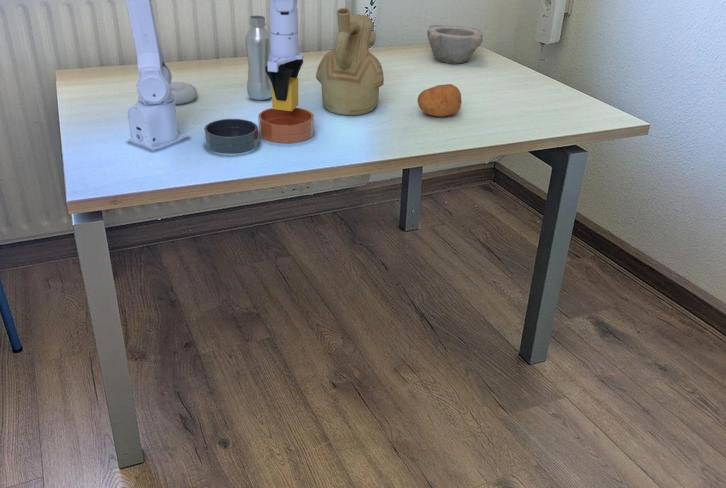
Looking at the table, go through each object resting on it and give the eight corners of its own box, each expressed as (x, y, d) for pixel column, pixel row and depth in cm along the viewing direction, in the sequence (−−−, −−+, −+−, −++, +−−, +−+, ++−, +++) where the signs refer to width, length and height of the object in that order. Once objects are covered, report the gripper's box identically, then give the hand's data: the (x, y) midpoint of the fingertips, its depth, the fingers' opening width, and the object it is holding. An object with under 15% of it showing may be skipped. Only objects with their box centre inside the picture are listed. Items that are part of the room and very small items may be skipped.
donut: (148, 104, 163) (187, 107, 161) (146, 90, 161) (185, 93, 159) (167, 92, 171) (204, 95, 169) (165, 78, 169) (202, 82, 168)
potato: (466, 120, 162) (470, 90, 158) (423, 123, 159) (426, 92, 155) (452, 107, 169) (456, 78, 165) (410, 110, 166) (413, 80, 163)
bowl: (290, 150, 141) (290, 129, 139) (247, 136, 147) (247, 116, 145) (324, 134, 150) (324, 114, 148) (283, 121, 156) (282, 103, 153)
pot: (233, 160, 136) (232, 141, 134) (194, 146, 141) (193, 128, 139) (269, 144, 144) (268, 126, 142) (231, 132, 149) (230, 115, 147)
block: (291, 111, 143) (291, 83, 140) (272, 109, 144) (271, 81, 141) (298, 105, 147) (298, 78, 144) (279, 102, 147) (278, 75, 144)
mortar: (478, 55, 215) (482, 25, 210) (479, 69, 200) (483, 38, 196) (426, 51, 217) (429, 22, 212) (423, 65, 202) (426, 34, 197)
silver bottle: (260, 92, 173) (257, 12, 163) (278, 98, 170) (277, 17, 159) (241, 98, 169) (237, 16, 159) (260, 104, 165) (256, 21, 155)
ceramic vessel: (390, 100, 172) (397, -2, 160) (371, 125, 156) (376, 14, 143) (328, 92, 176) (329, -8, 163) (302, 116, 160) (301, 7, 147)
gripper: (290, 42, 130) (291, 109, 137) (313, 26, 142) (313, 88, 149) (256, 38, 132) (259, 105, 138) (281, 23, 144) (283, 85, 151)
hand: (285, 96), depth 144 cm, fingers closed on block, 4 cm apart
